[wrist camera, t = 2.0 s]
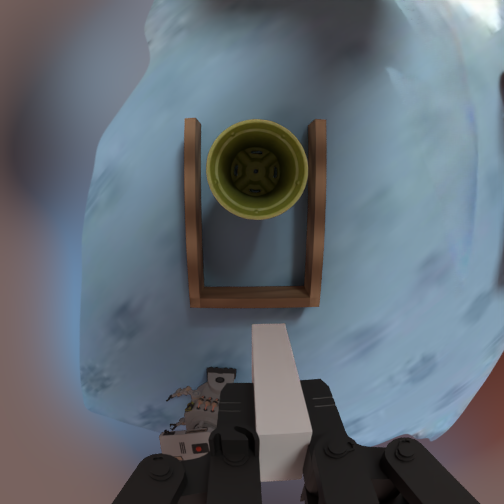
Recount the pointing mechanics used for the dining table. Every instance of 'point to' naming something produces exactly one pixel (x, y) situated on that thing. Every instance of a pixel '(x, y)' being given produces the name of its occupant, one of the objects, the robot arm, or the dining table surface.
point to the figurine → (197, 417)
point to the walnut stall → (314, 243)
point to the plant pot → (273, 155)
